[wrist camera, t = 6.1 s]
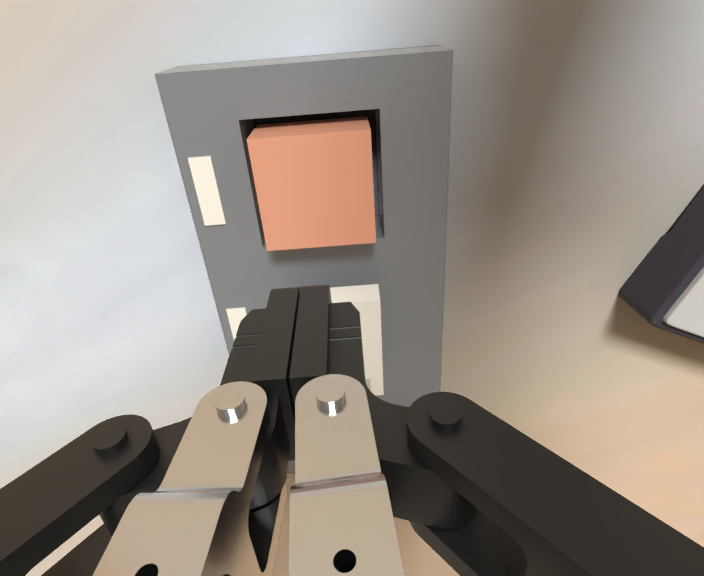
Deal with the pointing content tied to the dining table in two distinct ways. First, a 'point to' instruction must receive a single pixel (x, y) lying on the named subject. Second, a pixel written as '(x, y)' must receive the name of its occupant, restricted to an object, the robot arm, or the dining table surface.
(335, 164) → the push button
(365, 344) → the white slab
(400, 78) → the panel
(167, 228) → the dining table surface
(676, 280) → the calculator
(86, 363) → the dining table surface
